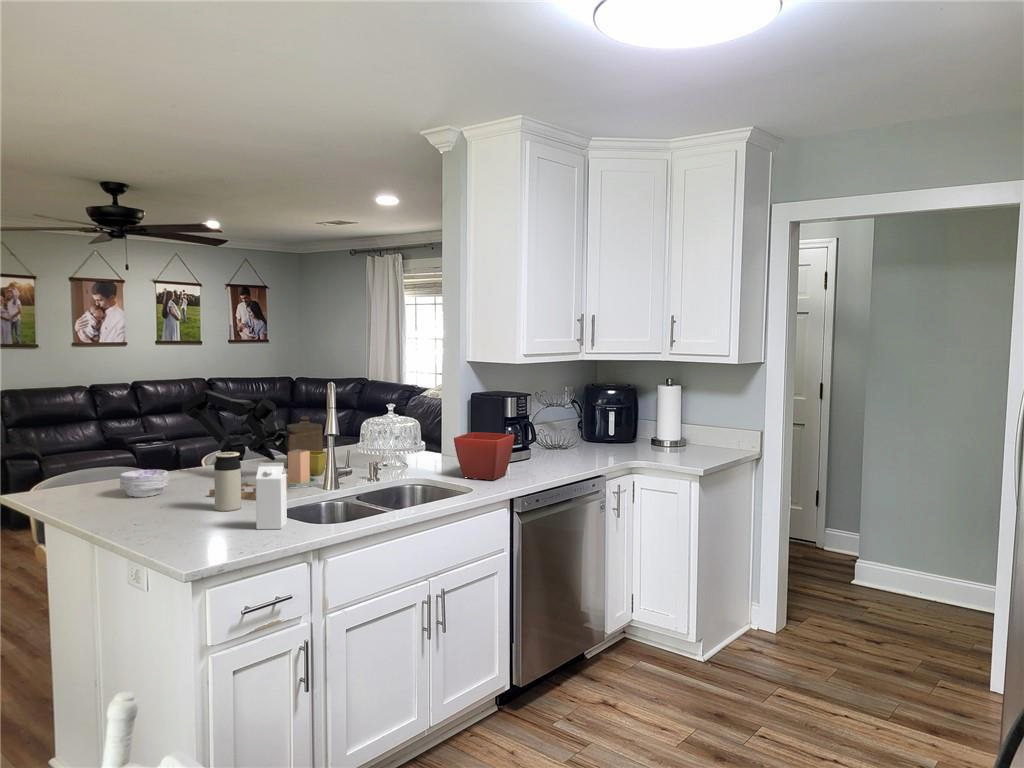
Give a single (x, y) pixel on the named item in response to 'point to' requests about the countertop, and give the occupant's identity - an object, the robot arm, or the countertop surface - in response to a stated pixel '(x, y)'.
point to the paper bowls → (144, 482)
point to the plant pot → (484, 454)
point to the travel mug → (227, 481)
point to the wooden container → (305, 436)
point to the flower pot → (317, 462)
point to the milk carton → (271, 496)
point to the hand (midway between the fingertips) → (282, 457)
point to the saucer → (312, 482)
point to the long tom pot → (299, 466)
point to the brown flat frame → (246, 494)
